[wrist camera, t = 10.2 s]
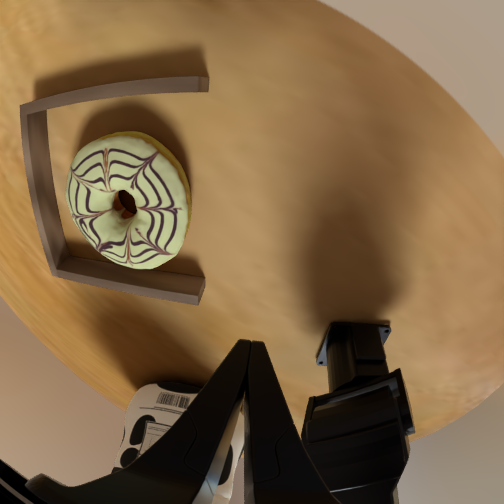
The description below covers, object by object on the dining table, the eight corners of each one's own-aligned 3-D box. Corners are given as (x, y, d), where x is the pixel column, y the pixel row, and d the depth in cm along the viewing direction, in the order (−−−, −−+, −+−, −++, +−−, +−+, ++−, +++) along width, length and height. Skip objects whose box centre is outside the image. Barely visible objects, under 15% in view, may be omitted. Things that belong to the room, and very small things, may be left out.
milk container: (195, 430, 44) (175, 514, 29) (118, 382, 38) (80, 477, 23) (273, 416, 37) (263, 526, 22) (188, 357, 31) (145, 500, 16)
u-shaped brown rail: (205, 286, 25) (198, 305, 23) (65, 262, 26) (52, 275, 24) (209, 78, 16) (198, 76, 14) (39, 100, 17) (19, 105, 15)
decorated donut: (102, 249, 24) (82, 272, 21) (76, 139, 19) (47, 151, 16) (205, 253, 23) (192, 281, 20) (190, 120, 18) (170, 127, 14)
